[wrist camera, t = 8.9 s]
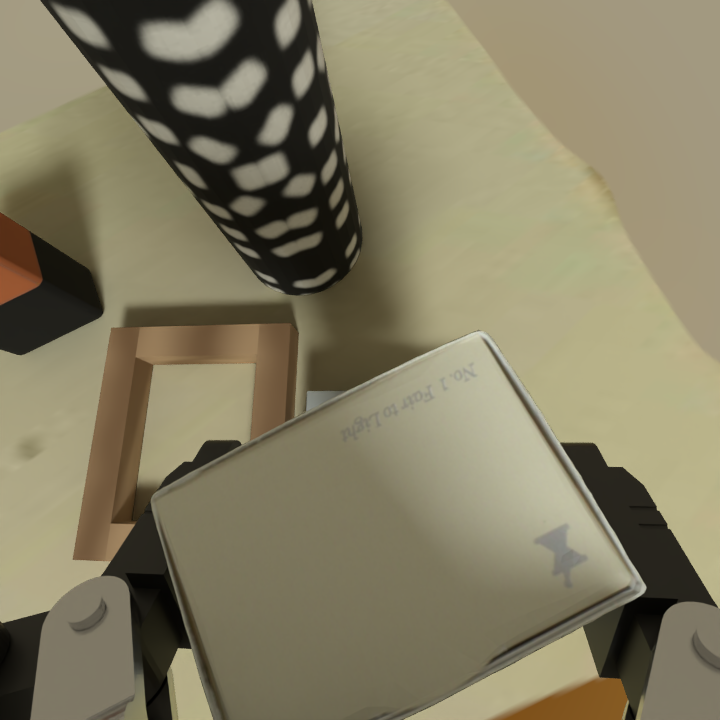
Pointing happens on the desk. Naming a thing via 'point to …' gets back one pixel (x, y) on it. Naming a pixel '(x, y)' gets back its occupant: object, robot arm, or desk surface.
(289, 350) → the brown flat rectangular frame
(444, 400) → the skincare box
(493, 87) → the desk surface
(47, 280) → the battery
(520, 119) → the desk surface
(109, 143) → the desk surface
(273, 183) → the white-spotted black cylinder
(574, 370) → the desk surface
